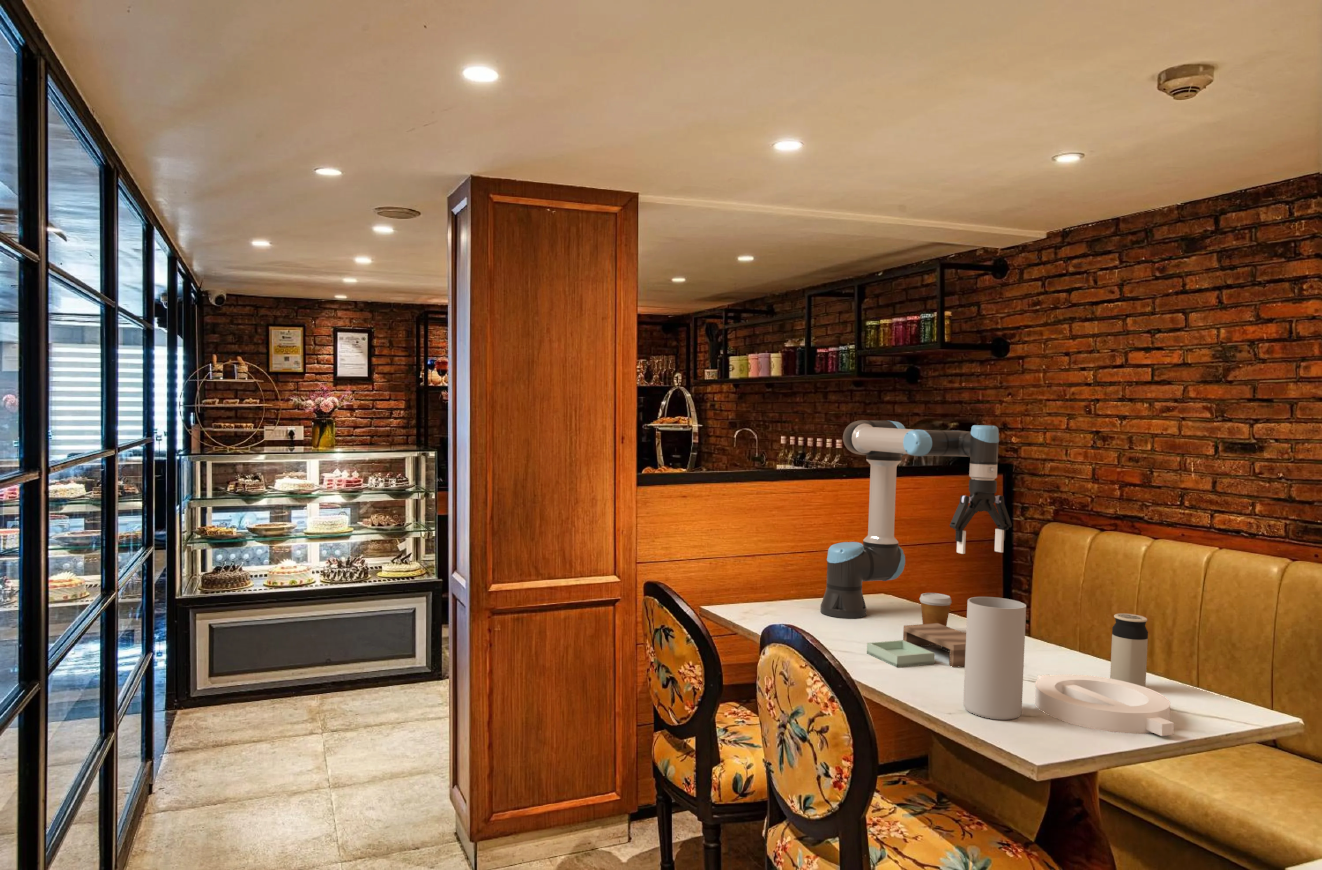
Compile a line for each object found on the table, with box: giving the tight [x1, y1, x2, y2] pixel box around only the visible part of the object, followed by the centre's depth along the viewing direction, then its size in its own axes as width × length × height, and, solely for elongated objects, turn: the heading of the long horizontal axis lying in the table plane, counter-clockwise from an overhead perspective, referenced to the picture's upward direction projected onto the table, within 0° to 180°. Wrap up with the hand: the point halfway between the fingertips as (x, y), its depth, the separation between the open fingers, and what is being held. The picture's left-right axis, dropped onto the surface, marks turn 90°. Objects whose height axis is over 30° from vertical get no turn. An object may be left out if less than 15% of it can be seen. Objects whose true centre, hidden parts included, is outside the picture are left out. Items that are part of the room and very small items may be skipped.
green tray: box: [866, 639, 936, 668], centre depth 249 cm, size 14×12×3 cm
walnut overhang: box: [902, 623, 966, 668], centre depth 254 cm, size 22×12×6 cm, turn 21°
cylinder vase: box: [962, 596, 1027, 721], centre depth 206 cm, size 12×12×25 cm
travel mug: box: [1109, 613, 1149, 687], centre depth 228 cm, size 8×8×18 cm
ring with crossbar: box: [1033, 674, 1175, 737], centre depth 209 cm, size 28×28×5 cm
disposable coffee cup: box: [918, 592, 953, 627], centre depth 277 cm, size 10×10×12 cm
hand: (979, 552), depth 261 cm, fingers open, 13 cm apart
